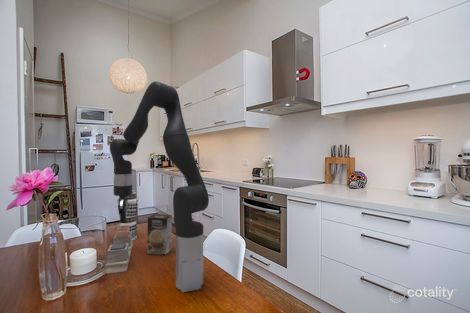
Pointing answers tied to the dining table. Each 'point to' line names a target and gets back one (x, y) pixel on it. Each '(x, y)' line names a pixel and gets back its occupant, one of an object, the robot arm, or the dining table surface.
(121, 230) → the terracotta plunger
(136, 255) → the dining table surface
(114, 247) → the charcoal plunger
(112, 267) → the button board
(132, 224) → the decorative candle
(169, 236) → the coffee box
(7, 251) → the dining table surface
